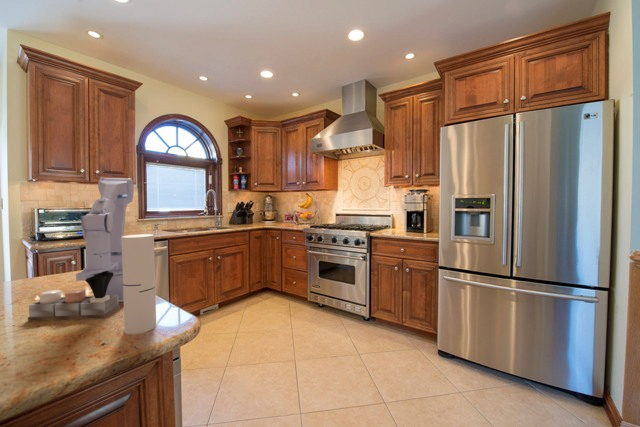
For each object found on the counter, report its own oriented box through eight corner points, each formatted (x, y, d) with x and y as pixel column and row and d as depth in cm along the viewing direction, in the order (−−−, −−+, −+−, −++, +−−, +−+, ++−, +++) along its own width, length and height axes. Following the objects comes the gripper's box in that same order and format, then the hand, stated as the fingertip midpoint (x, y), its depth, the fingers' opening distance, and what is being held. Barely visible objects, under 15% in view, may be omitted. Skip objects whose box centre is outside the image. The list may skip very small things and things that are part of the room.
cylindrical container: (128, 324, 75) (125, 235, 74) (158, 320, 78) (155, 233, 77) (121, 336, 69) (118, 238, 68) (153, 331, 72) (151, 236, 71)
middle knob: (89, 301, 85) (89, 289, 84) (77, 307, 80) (77, 294, 80) (74, 302, 84) (73, 289, 84) (61, 308, 80) (60, 294, 80)
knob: (113, 307, 85) (113, 294, 85) (103, 313, 81) (102, 299, 80) (98, 307, 85) (97, 295, 85) (86, 313, 80) (86, 300, 80)
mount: (119, 309, 86) (119, 295, 86) (104, 318, 80) (103, 303, 80) (49, 311, 85) (49, 297, 85) (28, 320, 78) (27, 305, 78)
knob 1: (65, 302, 84) (65, 289, 84) (52, 308, 80) (51, 294, 79) (49, 303, 84) (49, 290, 84) (35, 308, 79) (34, 295, 79)
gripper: (101, 249, 89) (103, 290, 90) (63, 258, 75) (65, 307, 75) (124, 249, 90) (125, 289, 90) (90, 257, 75) (92, 306, 76)
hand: (100, 297), depth 83 cm, fingers closed, pressing on knob
